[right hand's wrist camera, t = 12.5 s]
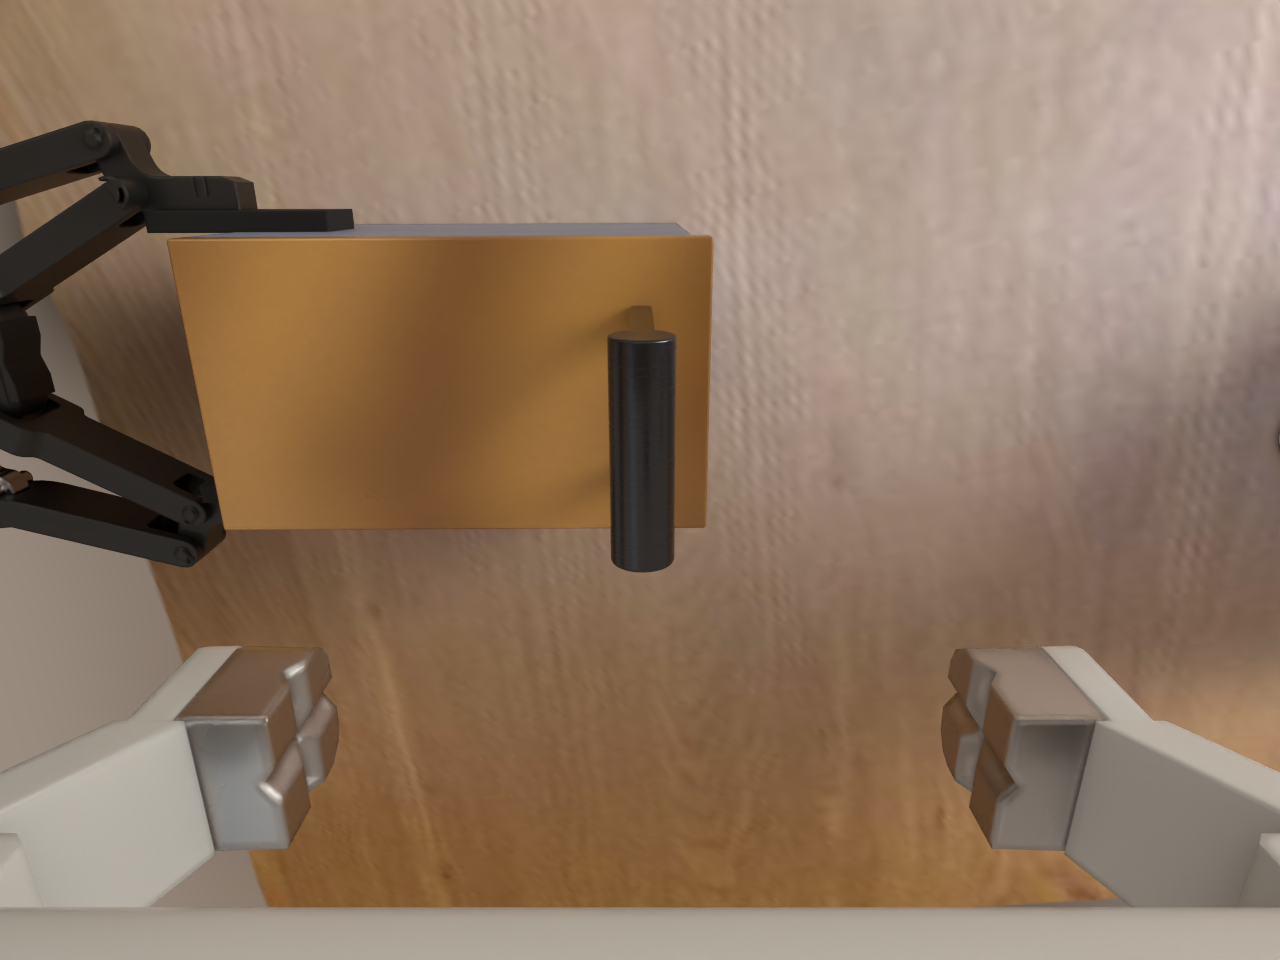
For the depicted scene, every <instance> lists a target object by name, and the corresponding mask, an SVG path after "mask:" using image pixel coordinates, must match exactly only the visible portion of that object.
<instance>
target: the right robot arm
mask: <svg viewBox="0 0 1280 960" xmlns="http://www.w3.org/2000/svg"><path fill="white" fill-rule="evenodd" d="M1279 444H1280V434H1279ZM331 678H332V675H331V670H330V665H329V660H328V655H327V654H326V653H325V652H324V651H323V650H322V649H321V648H308V647H258V646H246V647H242V646H207V647H202V648H198V649H197V650H196V651H195V652H194V653H193V654H192V655H191V656H190V657H189V658H188V659H187V660H186V661H185V662H184V663H183V664H182V665H181V666H180V667H179V668H178V669H177V670H176V671H175V672H174V673H173V674H172V675H171V676H170V677H169V678H168V679H167V680H166V681H165V682H164V683H163V684H162V685H161V686H160V687H159V688H158V689H157V690H156V691H155V692H154V693H153V694H152V695H151V696H150V697H149V698H148V700H147V701H146V702H145V703H144V704H143V705H142V706H141V707H140V708H139V709H138V710H137V711H136V712H135V713H134V714H133V715H132V716H131V717H130V718H129V719H128V720H127V721H112V722H110V723H108V724H106V725H103V726H101V727H99V728H97V729H95V730H93V731H90V732H88V733H86V734H84V735H82V736H79V737H77V738H75V739H73V740H71V741H68V742H66V743H64V744H62V745H60V746H57V747H55V748H53V749H51V750H49V751H46V752H44V753H42V754H40V755H37V756H35V757H33V758H31V759H29V760H27V761H24V762H22V763H20V764H18V765H16V766H13V767H11V768H9V769H7V770H5V771H2V772H0V960H1280V772H1277V771H1275V770H1273V769H1271V768H1269V767H1266V766H1264V765H1262V764H1260V763H1258V762H1255V761H1253V760H1251V759H1249V758H1247V757H1244V756H1242V755H1240V754H1238V753H1236V752H1234V751H1231V750H1229V749H1227V748H1225V747H1223V746H1220V745H1218V744H1216V743H1214V742H1212V741H1209V740H1207V739H1205V738H1203V737H1201V736H1198V735H1196V734H1194V733H1192V732H1190V731H1187V730H1185V729H1183V728H1181V727H1179V726H1176V725H1174V724H1172V723H1170V722H1168V721H1153V720H1152V719H1151V718H1150V717H1149V716H1148V715H1147V714H1146V713H1145V712H1144V711H1143V710H1142V709H1141V708H1140V707H1139V706H1138V705H1137V703H1136V702H1135V701H1134V700H1133V699H1132V698H1131V697H1130V696H1129V695H1128V694H1127V693H1126V692H1125V691H1124V690H1123V689H1122V688H1121V687H1120V686H1119V685H1118V684H1117V683H1116V682H1115V681H1114V680H1113V679H1112V678H1111V677H1110V676H1109V675H1108V674H1107V673H1106V672H1105V671H1104V670H1103V669H1102V668H1101V667H1100V666H1099V665H1098V664H1097V663H1096V662H1095V661H1094V660H1093V659H1092V658H1091V657H1090V656H1089V655H1088V654H1087V652H1086V651H1085V650H1084V649H1081V648H1079V647H1076V646H1073V645H1071V646H1045V647H1016V648H976V649H956V650H955V653H954V655H953V657H952V659H951V663H950V669H949V674H948V678H949V680H950V681H951V683H952V684H953V686H954V688H955V689H956V691H957V693H956V694H955V695H954V696H953V697H952V698H951V699H950V700H949V701H948V702H947V703H946V704H945V706H944V707H943V714H942V723H941V736H942V747H943V753H944V756H945V759H946V762H947V766H948V768H949V770H950V772H951V774H952V776H953V778H954V780H955V781H956V782H958V783H959V784H961V785H962V786H964V787H965V788H967V789H968V790H969V791H971V792H972V793H971V799H970V805H969V808H970V810H971V811H972V813H973V815H974V817H975V819H976V821H977V822H978V824H979V826H980V828H981V830H982V832H983V833H984V835H985V837H986V839H987V841H988V842H989V844H990V846H991V848H992V849H1018V850H1054V851H1065V853H1064V854H1065V855H1066V856H1067V857H1069V858H1070V859H1071V860H1072V861H1074V862H1075V863H1076V864H1077V865H1079V866H1080V867H1081V868H1082V869H1084V870H1085V871H1086V872H1087V873H1089V874H1090V875H1091V876H1092V877H1094V878H1095V879H1096V880H1098V881H1099V882H1100V883H1101V884H1103V885H1104V886H1105V887H1106V888H1108V889H1109V890H1110V891H1111V892H1113V893H1114V894H1115V895H1116V896H1118V897H1119V898H1120V899H1121V900H1123V901H1124V902H1125V903H1126V904H1128V905H1129V906H1130V907H150V906H151V905H153V904H154V903H155V902H156V901H158V900H159V899H160V898H161V897H163V896H164V895H165V894H166V893H168V892H169V891H170V890H171V889H173V888H174V887H175V886H176V885H178V884H179V883H180V882H182V881H183V880H184V879H185V878H186V877H188V876H189V875H190V874H192V873H193V872H194V871H195V870H197V869H198V868H199V867H200V866H202V865H203V864H204V863H205V862H207V861H208V860H209V859H210V858H212V857H213V856H214V855H215V851H226V850H261V849H288V848H289V846H290V844H291V843H292V841H293V839H294V837H295V835H296V833H297V832H298V830H299V828H300V826H301V824H302V822H303V821H304V819H305V817H306V815H307V813H308V811H309V809H310V808H311V805H310V799H309V793H308V792H309V791H311V790H312V789H313V788H315V787H316V786H318V785H319V784H321V783H322V782H324V781H325V780H326V778H327V776H328V774H329V772H330V770H331V768H332V766H333V763H334V759H335V755H336V750H337V746H338V742H339V720H338V713H337V707H336V706H335V704H334V703H333V702H332V701H331V700H330V699H329V698H328V697H327V696H326V695H325V694H324V693H323V691H324V689H325V688H326V686H327V684H328V683H329V681H330V680H331Z"/></svg>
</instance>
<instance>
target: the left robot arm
mask: <svg viewBox="0 0 1280 960" xmlns="http://www.w3.org/2000/svg"><path fill="white" fill-rule="evenodd" d="M150 149H151V144H150V140H149V138H148V136H147V135H146V133H145V132H144V131H142V130H141V129H140V128H137V127H134V126H128V125H121V124H113V123H106V122H98V121H83V122H80V123H77V124H74V125H71V126H68V127H65V128H62V129H59V130H56V131H52V132H49V133H46V134H43V135H40V136H37V137H34V138H31V139H28V140H25V141H21V142H18V143H15V144H12V145H9V146H6V147H3V148H0V205H1V204H5V203H8V202H11V201H14V200H17V199H20V198H24V197H27V196H30V195H33V194H36V193H39V192H43V191H46V190H49V189H52V188H55V187H58V186H62V185H65V184H68V183H71V182H74V181H77V180H81V179H84V178H87V177H90V176H93V175H96V174H100V173H103V175H104V176H102V177H99V178H98V179H99V180H100V181H107V182H106V183H104V184H103V185H101V186H100V187H98V188H97V189H95V190H94V191H92V192H91V193H90V194H88V195H87V196H85V197H84V198H82V199H81V200H79V201H78V202H76V203H75V204H73V205H72V206H71V207H69V208H68V209H66V210H65V211H63V212H62V213H60V214H59V215H57V216H56V217H54V218H53V219H51V220H50V221H49V222H47V223H46V224H44V225H43V226H41V227H40V228H38V229H37V230H35V231H34V232H32V233H31V234H30V235H28V236H27V237H25V238H24V239H22V240H21V241H19V242H18V243H16V244H15V245H14V246H12V247H11V248H9V249H8V250H6V251H5V252H3V253H2V254H0V449H1V450H4V451H6V452H8V453H10V454H13V455H16V456H20V457H35V458H39V459H41V460H43V461H46V462H48V463H50V464H52V465H54V466H57V467H59V468H61V469H63V470H65V471H67V472H70V473H72V474H74V475H76V476H78V477H80V478H83V479H85V480H87V481H89V482H91V483H93V484H96V485H98V486H100V487H102V488H104V489H106V490H109V491H111V492H113V493H115V494H117V495H120V496H122V497H119V496H115V495H111V494H107V493H103V492H98V491H94V490H90V489H86V488H82V487H78V486H74V485H69V484H65V483H60V482H55V481H44V480H40V481H33V476H32V475H31V473H29V472H28V471H20V472H18V471H16V470H12V469H6V468H4V467H2V466H0V528H8V527H13V528H17V529H22V530H26V531H30V532H34V533H39V534H43V535H47V536H52V537H56V538H60V539H64V540H69V541H73V542H78V543H82V544H86V545H90V546H94V547H99V548H103V549H107V550H111V551H116V552H120V553H124V554H129V555H133V556H137V557H141V558H145V559H150V560H154V561H158V562H163V563H167V564H171V565H175V566H180V567H190V566H193V565H194V564H195V563H197V562H198V561H199V560H200V559H202V558H203V557H204V556H205V555H206V554H208V553H209V552H210V551H211V550H212V549H214V548H215V547H216V546H217V545H218V544H219V543H221V542H222V541H223V540H224V539H225V536H226V530H225V529H224V526H223V520H222V515H221V510H220V505H219V500H218V495H217V490H216V485H215V480H214V476H211V475H209V474H207V473H205V472H202V471H200V470H198V469H196V468H194V467H192V466H190V465H188V464H186V463H183V462H181V461H179V460H177V459H175V458H173V457H171V456H169V455H167V454H164V453H162V452H160V451H158V450H156V449H154V448H152V447H150V446H148V445H145V444H143V443H141V442H139V441H137V440H135V439H133V438H131V437H129V436H126V435H124V434H122V433H120V432H118V431H116V430H114V429H112V428H110V427H107V426H105V425H103V424H101V423H99V422H97V421H95V420H93V419H91V418H88V417H87V416H85V415H84V410H83V409H82V408H81V407H79V406H77V405H75V404H73V403H71V402H69V401H67V400H65V399H63V398H61V397H58V396H56V395H54V394H52V392H55V389H54V385H53V381H52V377H51V373H50V372H49V370H48V368H47V366H46V364H45V362H44V360H43V358H42V357H41V353H40V344H41V335H40V331H39V327H38V323H37V319H36V316H28V314H27V313H26V311H25V310H27V309H28V308H30V307H31V306H33V305H34V304H36V303H37V302H39V301H40V300H42V299H43V298H45V297H46V296H48V295H49V294H51V293H52V292H53V291H54V289H53V288H54V287H55V286H56V285H58V284H59V283H61V282H62V281H64V280H65V279H67V278H68V277H70V276H71V275H73V274H74V273H76V272H77V271H79V270H80V269H82V268H83V267H85V266H86V265H88V264H89V263H91V262H92V261H94V260H95V259H97V258H98V257H100V256H101V255H103V254H104V253H106V252H107V251H109V250H110V249H112V248H113V247H115V246H116V245H118V244H119V243H121V242H122V241H124V240H126V239H127V238H129V237H130V236H132V235H133V234H135V233H136V232H138V231H139V230H141V229H142V228H144V227H145V226H146V227H147V232H148V233H234V232H332V231H340V230H348V229H354V221H353V213H352V209H257V203H256V196H255V190H254V184H253V182H250V181H248V180H245V179H243V178H240V177H228V176H170V175H167V174H165V173H164V172H162V171H161V170H160V169H159V168H158V167H157V165H156V164H155V162H154V161H153V159H152V157H151V155H150ZM123 497H124V498H123Z"/></svg>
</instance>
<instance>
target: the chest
mask: <svg viewBox="0 0 1280 960" xmlns="http://www.w3.org/2000/svg"><path fill="white" fill-rule="evenodd" d="M583 235H691V234H690V233H689V232H688V231H686V230H685V229H684V228H682V227H681V226H680V225H678V224H677V223H579V224H354V229H348V230H340V231H332V232H234V233H223V234H213V235H203V236H192V237H343V236H583Z"/></svg>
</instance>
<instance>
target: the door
mask: <svg viewBox="0 0 1280 960" xmlns="http://www.w3.org/2000/svg"><path fill="white" fill-rule="evenodd" d="M713 241H714V239H713V237H711V236H710V235H583V236H343V237H183V238H173V239H168V240H167V245H168V250H169V255H170V260H171V265H172V270H173V275H174V280H175V285H176V290H177V295H178V300H179V305H180V310H181V315H182V320H183V325H184V330H185V335H186V340H187V345H188V350H189V355H190V360H191V365H192V370H193V375H194V380H195V385H196V390H197V395H198V400H199V405H200V410H201V415H202V420H203V425H204V430H205V435H206V440H207V445H208V450H209V455H210V460H211V465H212V470H213V475H214V480H215V485H216V490H217V495H218V500H219V505H220V510H221V515H222V520H223V525H224V529H225V530H318V529H531V528H611V559H612V562H613V563H614V564H615V565H616V566H617V567H619V568H621V569H623V570H627V571H632V572H653V571H658V570H661V569H664V568H666V567H668V566H669V565H671V564H672V562H673V560H674V528H704V527H705V526H706V503H707V466H708V428H709V391H710V353H711V316H712V279H713Z"/></svg>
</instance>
